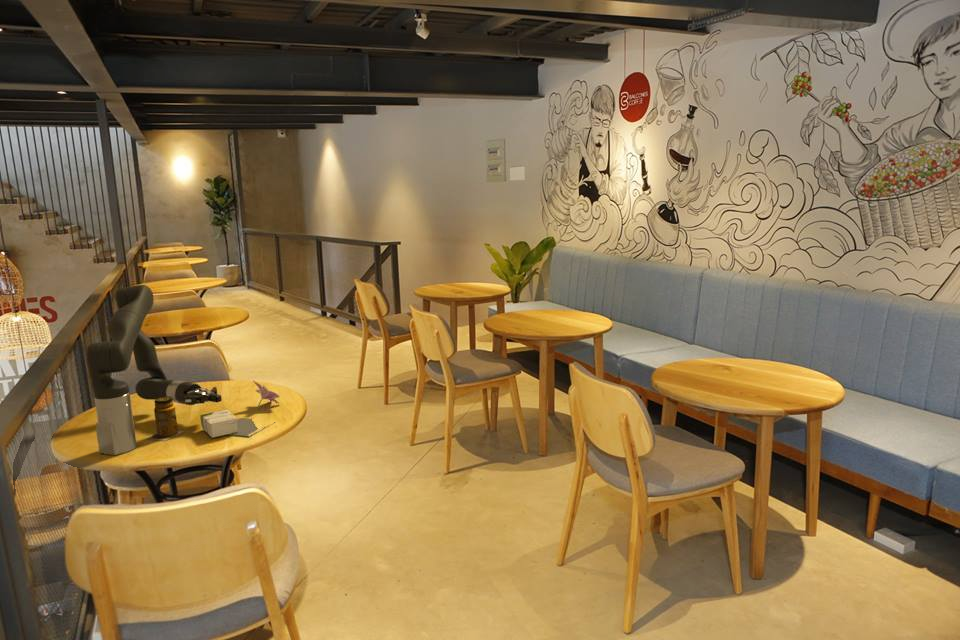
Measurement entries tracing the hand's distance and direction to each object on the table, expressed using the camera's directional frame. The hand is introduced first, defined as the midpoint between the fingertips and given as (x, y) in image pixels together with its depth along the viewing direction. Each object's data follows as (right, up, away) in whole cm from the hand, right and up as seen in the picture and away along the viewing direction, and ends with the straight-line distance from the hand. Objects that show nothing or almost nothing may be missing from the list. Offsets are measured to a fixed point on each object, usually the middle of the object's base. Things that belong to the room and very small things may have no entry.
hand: (219, 398), depth 214 cm
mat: (+8, -9, 0) cm, 13 cm away
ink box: (-2, -7, +1) cm, 7 cm away
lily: (+9, -6, +21) cm, 24 cm away
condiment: (-15, -11, -5) cm, 20 cm away
